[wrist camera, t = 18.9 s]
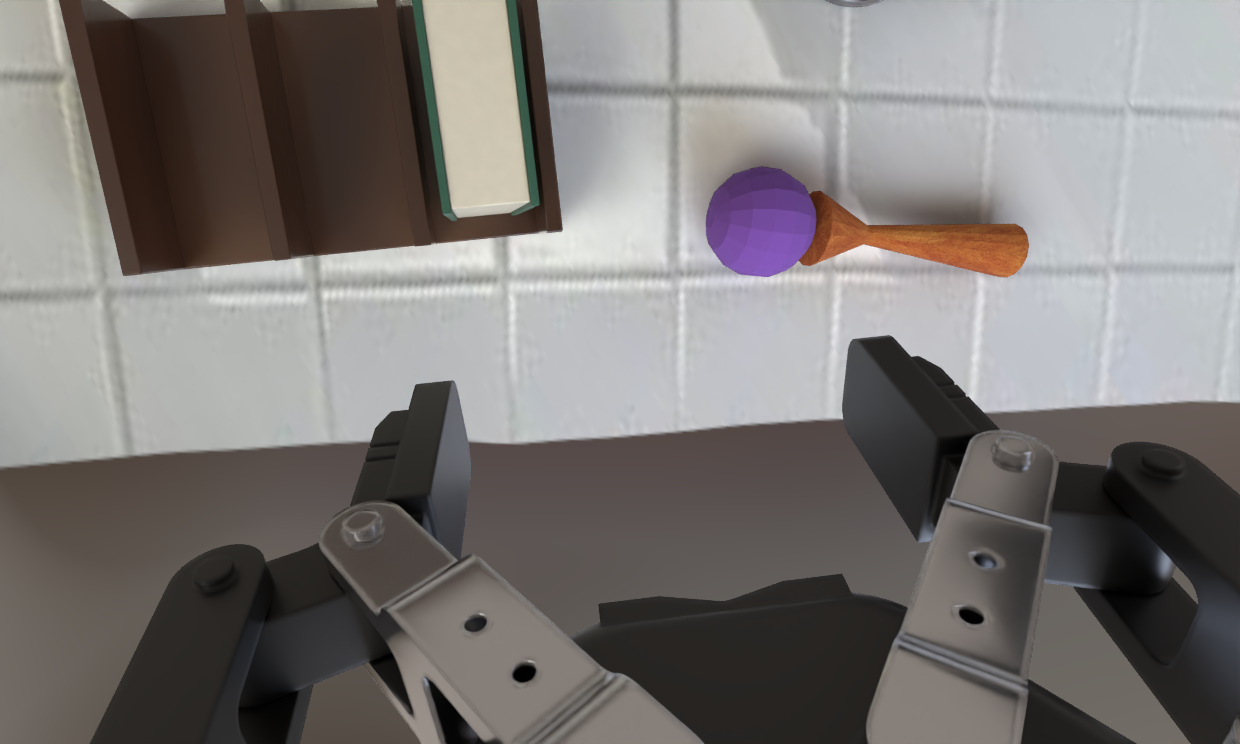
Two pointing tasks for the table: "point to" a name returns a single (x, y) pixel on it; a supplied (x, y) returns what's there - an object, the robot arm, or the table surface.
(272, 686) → the robot arm
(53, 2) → the table surface
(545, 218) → the rack
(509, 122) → the book
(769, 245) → the kendama
